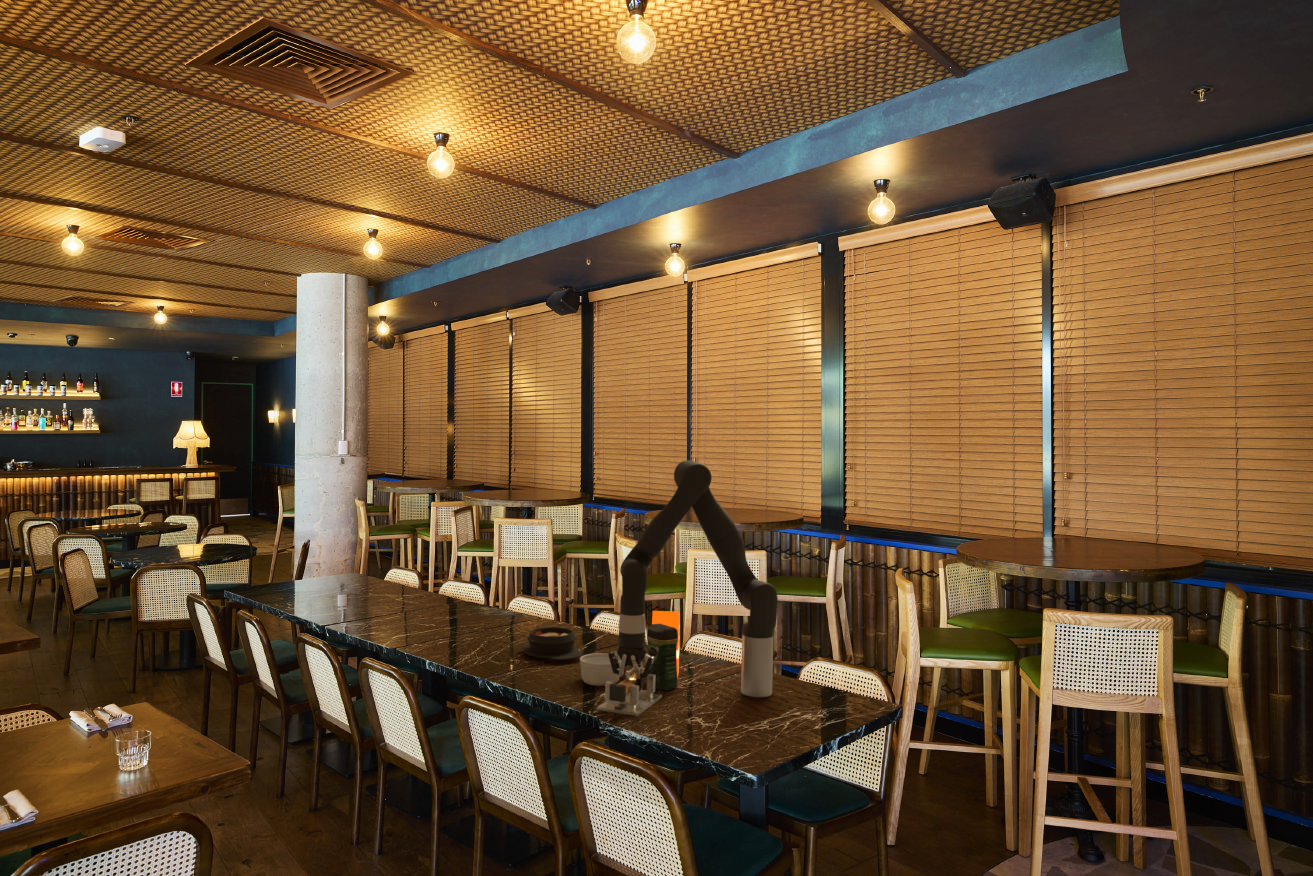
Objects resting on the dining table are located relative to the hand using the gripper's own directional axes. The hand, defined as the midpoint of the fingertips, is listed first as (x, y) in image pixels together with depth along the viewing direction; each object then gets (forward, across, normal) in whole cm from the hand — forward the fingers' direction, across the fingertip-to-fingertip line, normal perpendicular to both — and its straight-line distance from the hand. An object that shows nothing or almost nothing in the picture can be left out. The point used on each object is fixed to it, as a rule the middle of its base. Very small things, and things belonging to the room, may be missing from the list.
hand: (630, 690), depth 223 cm
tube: (0, 0, 0) cm, 0 cm away
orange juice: (+4, +2, -32) cm, 32 cm away
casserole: (+4, +45, -35) cm, 57 cm away
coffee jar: (+4, -2, -19) cm, 20 cm away
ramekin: (+4, +17, -16) cm, 24 cm away
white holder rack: (+4, 0, 0) cm, 4 cm away
